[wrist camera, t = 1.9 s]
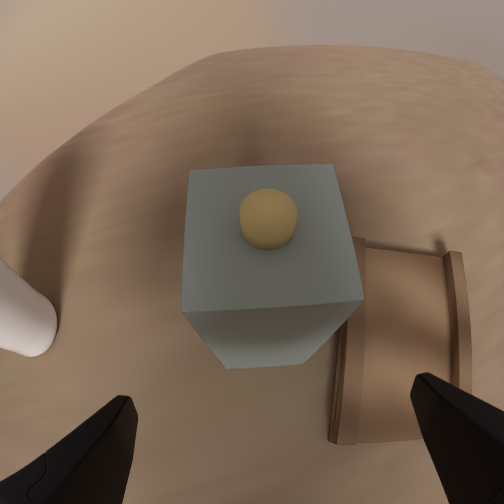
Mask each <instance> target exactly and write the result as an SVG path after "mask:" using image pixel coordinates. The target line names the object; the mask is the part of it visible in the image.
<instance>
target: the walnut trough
mask: <svg viewBox="0 0 504 504" xmlns="http://www.w3.org/2000/svg"><path fill="white" fill-rule="evenodd" d="M352 241H353V245H354V250H355V254H356V259H357V264H358V268H359V273H360V278H361V283H362V289H363V294H364V299H365V300H364V301H363V302H362V303H361V304H360V305H359V307H358V308H357V309H356V310H355V311H354V312H353V313H352V314H351V315H350V316H349V318H348V319H347V320H346V321H345V322H344V323H343V324H342V325H341V326H340V327H339V337H338V352H337V365H336V377H335V388H334V398H333V407H332V416H331V424H330V432H329V439H328V441H329V442H333V443H335V444H342V445H356V443H365V442H391V441H406V440H418V439H423V437H422V434H421V431H420V428H419V425H418V421H417V418H416V415H415V412H414V408H413V405H412V402H411V399H410V392H411V389H412V385H413V382H414V379H415V376H416V375H417V374H420V373H424V372H429V373H431V374H433V375H435V376H437V377H439V378H441V379H442V380H444V381H446V382H448V383H450V384H452V385H454V386H456V387H458V388H460V389H461V390H463V391H465V392H467V393H469V394H471V395H472V346H471V327H470V314H469V304H468V295H467V286H466V279H465V272H464V265H463V259H462V253H461V252H457V251H449V252H448V253H447V254H446V255H445V256H444V257H436V256H428V255H421V254H413V253H406V252H398V251H390V250H383V249H375V248H367V247H365V239H363V238H356V237H352Z"/></svg>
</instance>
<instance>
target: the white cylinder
mask: <svg viewBox="0 0 504 504" xmlns="http://www.w3.org/2000/svg"><path fill="white" fill-rule="evenodd" d="M56 331H57V316H56V312H55V309H54V307H53V305H52V303H51V302H50V301H49V300H48V299H47V298H46V297H45V296H43V295H42V294H41V293H39V292H38V291H36V290H35V289H34V288H33V287H32V286H30V285H29V284H28V283H27V282H26V281H25V280H24V279H23V278H22V277H21V276H19V275H18V274H17V273H16V272H15V271H14V270H13V269H12V268H11V267H10V266H9V265H8V264H7V263H6V262H5V261H4V260H3V259H2V258H1V257H0V348H1V349H5V350H9V351H12V352H15V353H18V354H21V355H23V356H27V357H35V356H39V355H41V354H43V353H44V352H45V351H46V350H47V349H48V348H49V347H50V346H51V344H52V342H53V340H54V338H55V335H56Z"/></svg>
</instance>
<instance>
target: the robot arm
mask: <svg viewBox="0 0 504 504" xmlns="http://www.w3.org/2000/svg"><path fill="white" fill-rule="evenodd" d="M410 399H411V402H412V405H413V408H414V412H415V415H416V418H417V421H418V425H419V428H420V431H421V434H422V437H423V439H424V442H425V444H426V446H427V449H428V451H429V453H430V456H431V458H432V461H433V463H434V466H435V468H436V471H437V473H438V476H439V478H440V481H441V483H442V486H443V488H444V491H445V494H446V496H447V499H448V502H449V504H504V411H502V410H500V409H498V408H496V407H494V406H492V405H490V404H488V403H487V402H485V401H483V400H481V399H479V398H477V397H475V396H473V395H471V394H469V393H467V392H465V391H463V390H461V389H460V388H458V387H456V386H454V385H452V384H450V383H448V382H446V381H444V380H442V379H441V378H439V377H437V376H435V375H433V374H431V373H429V372H424V373H420V374H417V375H416V376H415V379H414V382H413V385H412V389H411V392H410ZM137 424H138V414H137V411H136V409H135V406H134V404H133V401H132V399H131V397H130V396H124V395H118V396H116V397H115V398H113V399H112V400H111V401H110V402H108V403H107V404H106V405H105V406H103V407H102V408H101V409H100V410H98V411H97V412H96V413H95V414H93V415H92V416H91V417H90V418H88V419H87V420H86V421H84V422H83V423H82V424H81V425H79V426H78V427H77V428H76V429H74V430H73V431H72V432H70V433H69V434H68V435H67V436H65V437H64V438H63V439H61V440H60V441H59V442H58V443H56V444H55V445H54V446H52V447H51V448H50V449H48V450H47V451H46V453H43V454H42V455H40V456H39V457H38V458H37V459H35V460H34V461H32V462H31V463H30V464H28V465H27V466H25V467H24V468H22V469H20V470H19V471H17V472H16V473H14V474H12V475H11V476H9V477H7V478H5V479H4V480H2V481H0V504H122V502H123V498H124V494H125V489H126V485H127V481H128V477H129V473H130V469H131V465H132V460H133V454H134V446H135V438H136V431H137Z"/></svg>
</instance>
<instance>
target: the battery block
mask: <svg viewBox="0 0 504 504" xmlns="http://www.w3.org/2000/svg"><path fill="white" fill-rule="evenodd" d="M364 300H365V299H364V294H363V289H362V283H361V278H360V273H359V268H358V264H357V259H356V254H355V250H354V245H353V241H352V236H351V232H350V228H349V224H348V220H347V216H346V212H345V208H344V204H343V200H342V196H341V192H340V189H339V185H338V181H337V178H336V174H335V171H334V167H333V164H284V165H259V166H240V167H224V168H211V169H198V170H189V180H188V191H187V204H186V218H185V233H184V251H183V272H182V301H181V312H182V313H183V315H184V316H185V317H186V319H187V320H188V321H189V323H190V324H191V325H192V327H193V328H194V329H195V330H196V332H197V333H198V334H199V335H200V337H201V338H202V339H203V341H204V342H205V343H206V344H207V346H208V347H209V348H210V349H211V351H212V352H213V353H214V354H215V355H216V357H217V358H218V359H219V360H220V362H221V363H222V364H223V365H224V366H225V368H226V369H243V368H262V367H276V366H289V365H300V364H304V363H305V362H306V361H307V360H308V359H309V358H310V357H311V356H312V355H313V354H314V353H315V352H316V351H317V350H318V349H319V348H320V347H321V346H322V345H323V344H324V343H325V342H326V341H327V340H328V339H329V338H330V337H331V336H332V335H333V333H334V332H335V331H336V330H337V329H338V328H339V327H340V326H341V325H342V324H343V323H344V322H345V321H346V320H347V319H348V318H349V316H350V315H351V314H352V313H353V312H354V311H355V310H356V309H357V308H358V307H359V305H360V304H361V303H362V302H363V301H364Z"/></svg>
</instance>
